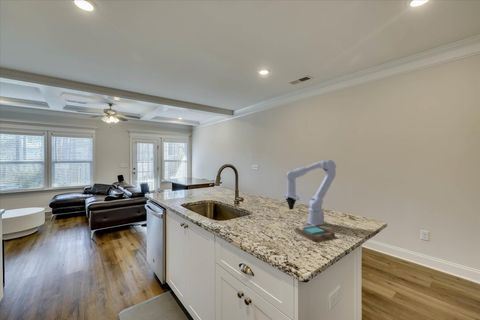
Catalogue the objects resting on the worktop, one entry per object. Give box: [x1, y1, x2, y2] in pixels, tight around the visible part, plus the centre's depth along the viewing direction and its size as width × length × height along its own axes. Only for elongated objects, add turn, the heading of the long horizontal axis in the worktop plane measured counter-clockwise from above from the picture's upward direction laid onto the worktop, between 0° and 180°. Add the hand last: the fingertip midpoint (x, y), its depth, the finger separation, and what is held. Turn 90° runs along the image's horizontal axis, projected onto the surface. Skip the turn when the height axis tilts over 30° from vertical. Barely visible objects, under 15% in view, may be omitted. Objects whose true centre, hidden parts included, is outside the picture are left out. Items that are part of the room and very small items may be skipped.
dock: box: [294, 225, 336, 242], centre depth 118 cm, size 15×15×2 cm
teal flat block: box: [301, 224, 325, 236], centre depth 119 cm, size 10×8×4 cm
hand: (291, 209), depth 139 cm, fingers closed
